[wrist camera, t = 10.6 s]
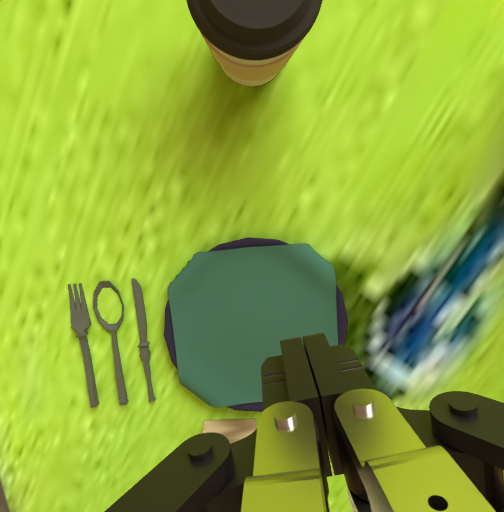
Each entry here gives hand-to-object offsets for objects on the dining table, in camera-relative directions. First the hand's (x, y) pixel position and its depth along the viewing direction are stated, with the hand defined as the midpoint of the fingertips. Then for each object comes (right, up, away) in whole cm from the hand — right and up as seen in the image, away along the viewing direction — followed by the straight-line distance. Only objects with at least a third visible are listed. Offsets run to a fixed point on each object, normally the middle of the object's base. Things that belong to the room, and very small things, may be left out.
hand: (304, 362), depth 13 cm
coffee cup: (-2, +24, +25) cm, 34 cm away
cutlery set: (-6, -4, +31) cm, 32 cm away
